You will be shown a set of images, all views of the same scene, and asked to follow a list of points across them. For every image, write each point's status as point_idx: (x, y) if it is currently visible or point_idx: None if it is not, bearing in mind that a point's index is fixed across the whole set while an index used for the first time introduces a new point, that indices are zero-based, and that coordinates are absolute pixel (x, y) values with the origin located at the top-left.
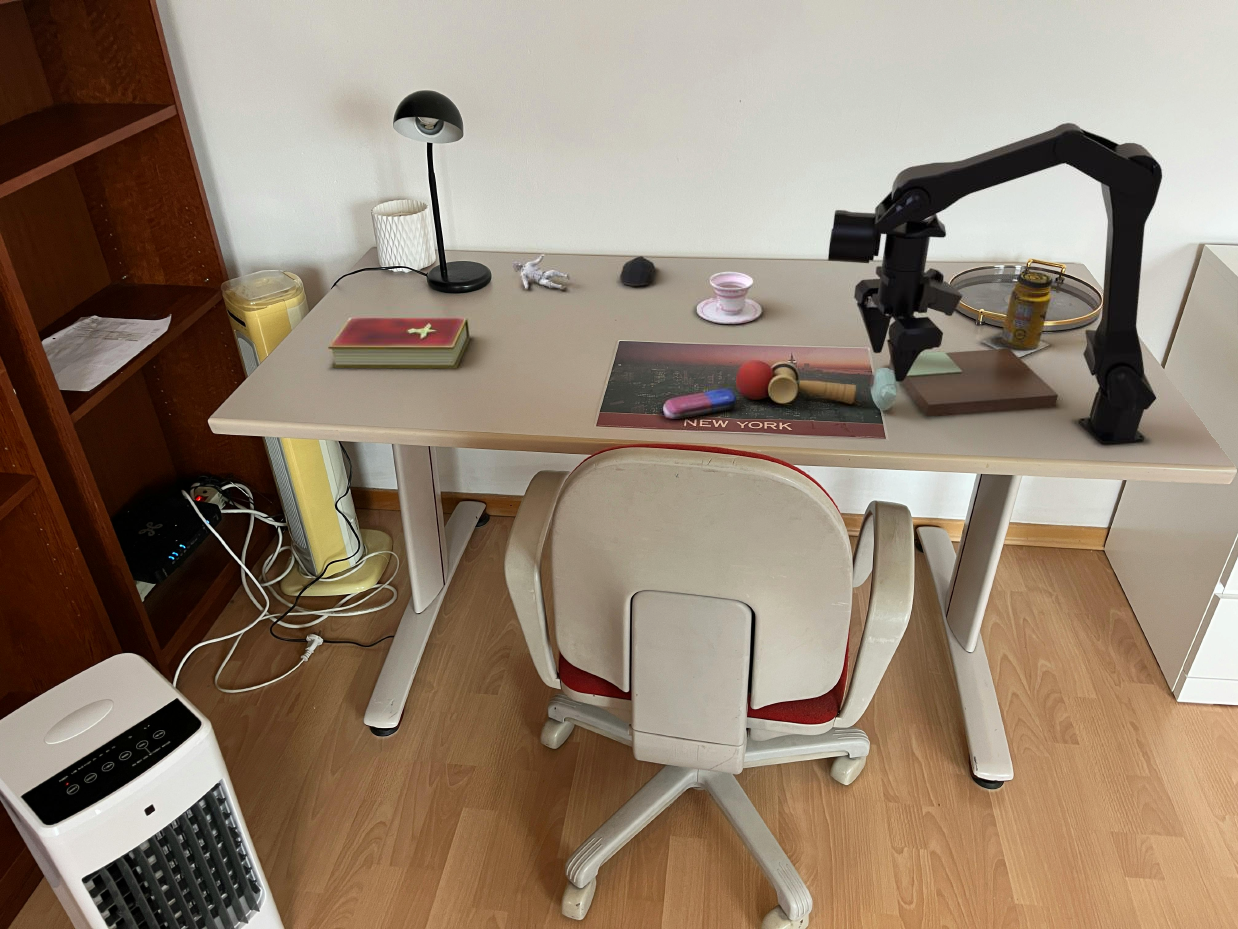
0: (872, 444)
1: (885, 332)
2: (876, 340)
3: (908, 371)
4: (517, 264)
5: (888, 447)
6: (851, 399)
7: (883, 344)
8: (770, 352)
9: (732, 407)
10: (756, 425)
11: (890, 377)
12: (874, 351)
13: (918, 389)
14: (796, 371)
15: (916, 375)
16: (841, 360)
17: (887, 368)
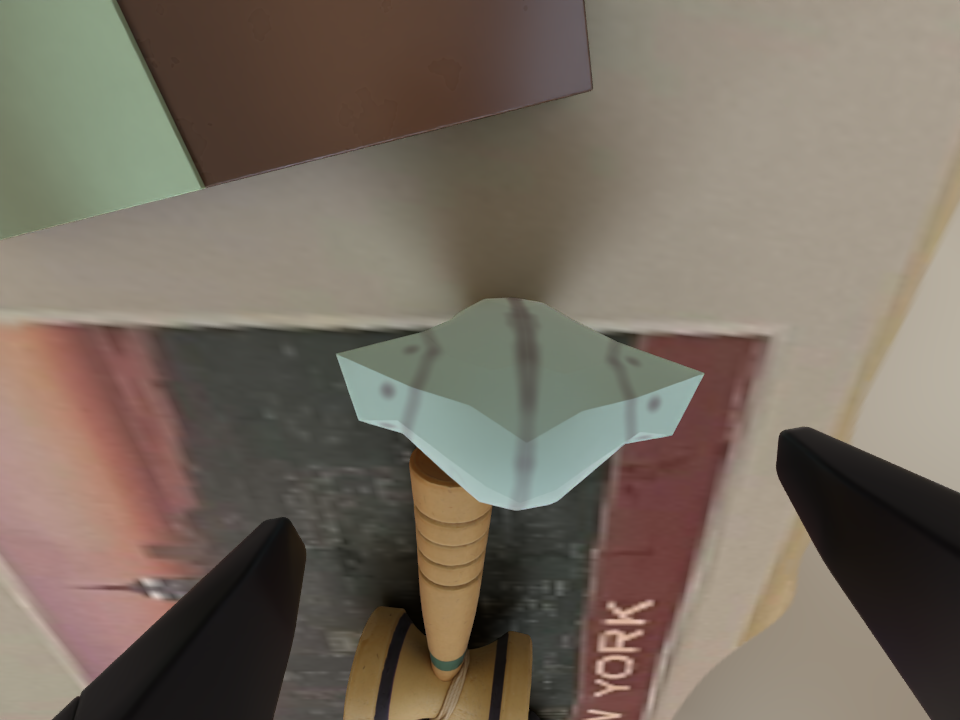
0: (802, 389)
1: (171, 690)
2: (262, 654)
3: (924, 480)
4: None
5: (843, 333)
6: None
7: (253, 568)
8: (107, 636)
9: (532, 715)
10: (617, 665)
11: (583, 436)
12: (303, 562)
13: (380, 131)
14: (383, 677)
15: (167, 111)
16: (49, 439)
17: (485, 461)
